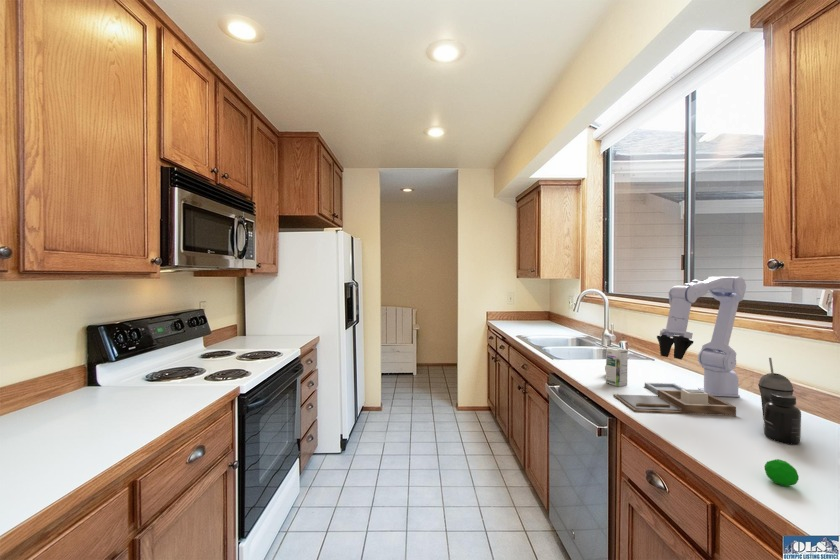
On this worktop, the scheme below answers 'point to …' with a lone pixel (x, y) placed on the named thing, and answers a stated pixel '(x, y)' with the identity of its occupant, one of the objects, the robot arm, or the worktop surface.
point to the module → (694, 396)
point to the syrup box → (616, 366)
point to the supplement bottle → (782, 419)
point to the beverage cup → (773, 386)
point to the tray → (662, 386)
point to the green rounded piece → (781, 472)
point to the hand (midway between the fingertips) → (670, 357)
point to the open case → (675, 404)
